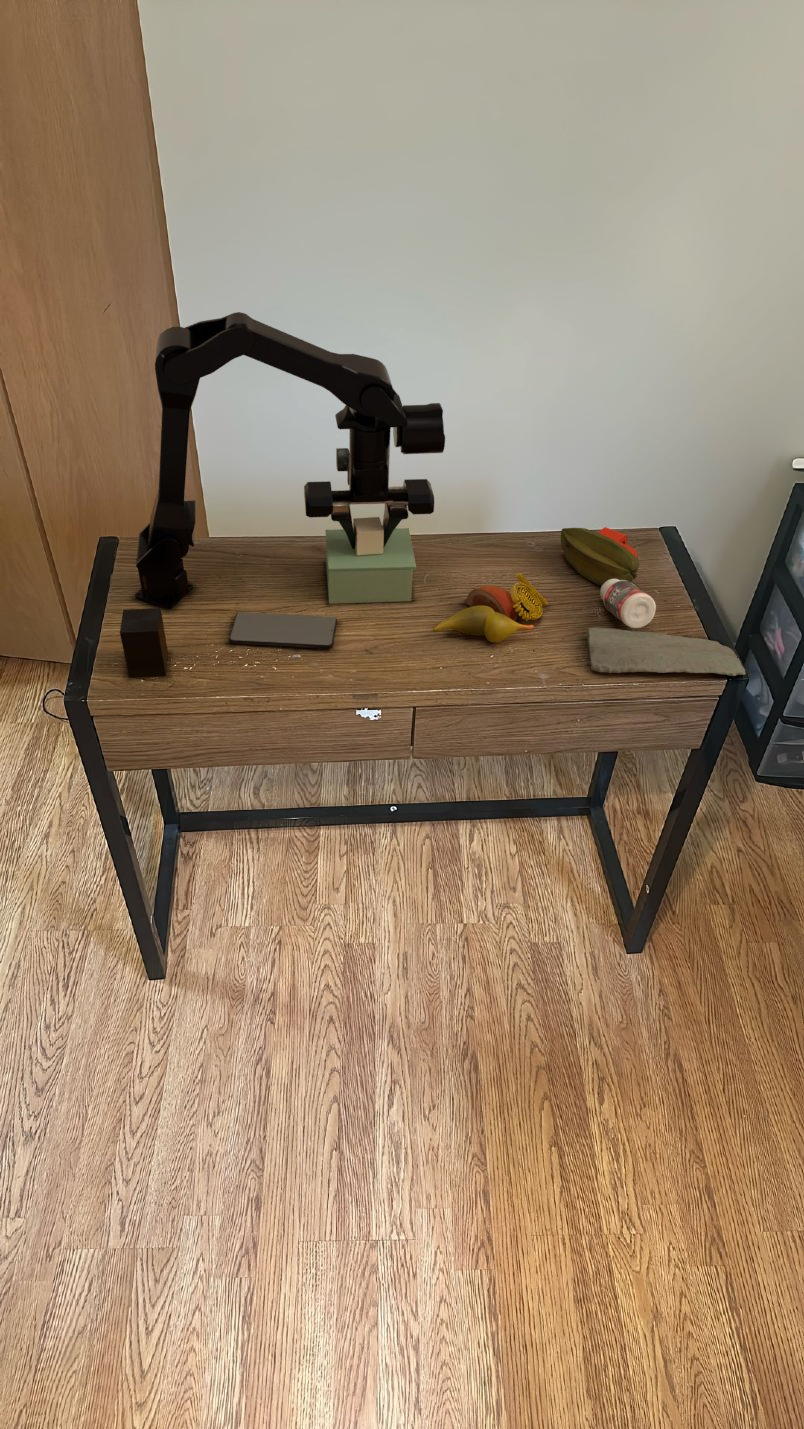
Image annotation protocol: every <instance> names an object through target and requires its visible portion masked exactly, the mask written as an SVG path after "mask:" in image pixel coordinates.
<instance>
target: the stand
mask: <svg viewBox="0 0 804 1429" xmlns="http://www.w3.org/2000/svg"><path fill="white" fill-rule="evenodd" d="M119 637H120V640H121V645H122V650H123V655H124V660H125V665H126V669H127V674H128V675H127V676H128V678H130V679H131V678H151V677H152V678H153V677H155V678H156V677H166V676H167V669H168V658H169V650H168V645H167V639H166V632H165V626H164V620H163V614H162V607H160V608H159V607H157V608H156V607H154V608H132V609H122V615H121V622H120V629H119Z"/></svg>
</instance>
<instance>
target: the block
mask: <svg viewBox="0 0 804 1429" xmlns="http://www.w3.org/2000/svg"><path fill="white" fill-rule="evenodd" d="M352 524H353V530H354V537H355V550H356V553H357V555H370V554H383V541H384V530H383V527H382V524H383V523H382V521H381V517H380V516H372V517H371V516H369V517H356V518H352Z"/></svg>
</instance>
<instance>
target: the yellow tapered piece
mask: <svg viewBox="0 0 804 1429" xmlns="http://www.w3.org/2000/svg"><path fill="white" fill-rule="evenodd" d="M534 628H535V626H534V624H529V625H527V624H521V623H519V622H517V621H513V620H512V619H510V618H509V617H507V616H505V615H503V614H501V613H498V612H495V611H494V610H493V609H492V608H490V607H489V606H484V605H480V606H473V607H470V606H469V607H466V608H464V609H462V610H461V611H458V612H456V613H455V614H453V615H452V616H450V617H449V618H446V619H445V620H443V621H442V622H440V623H438V624H436V625H435V626H434V627H433V629H432V631H433V632H439V631H444V630H453V631H457V632H460V633H463V634H467V635H470V636H485V638H486V640H487V641H488V642H491V643H500V642H503V641H504V640H506V639H507V638H509V637H510V636H511V635H512V634H514V633H515V632H517V631H520V630H532V629H534Z"/></svg>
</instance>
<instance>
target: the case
mask: <svg viewBox="0 0 804 1429" xmlns="http://www.w3.org/2000/svg"><path fill="white" fill-rule="evenodd" d="M325 566H326V580H327V593H328V594H327V595H328V604H329V605H330V604H331V605H332V604H363V603H364V604H366V603H396V602H397V603H398V602H399V603H402V602H412V590H413V572H414V570H386V571H342V572H329V571H328V559H327V545H326V544H325Z"/></svg>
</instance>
